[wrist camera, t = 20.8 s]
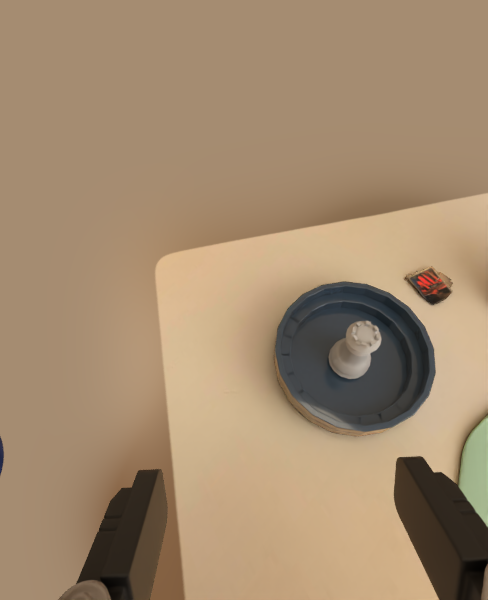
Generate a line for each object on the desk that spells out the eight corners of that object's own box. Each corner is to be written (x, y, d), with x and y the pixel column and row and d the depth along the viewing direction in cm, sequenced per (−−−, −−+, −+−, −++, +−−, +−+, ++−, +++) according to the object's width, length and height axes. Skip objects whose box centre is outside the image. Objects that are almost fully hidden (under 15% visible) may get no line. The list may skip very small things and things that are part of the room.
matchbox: (435, 308, 44) (437, 307, 44) (400, 281, 46) (402, 279, 46) (458, 286, 45) (460, 284, 45) (423, 260, 47) (425, 258, 47)
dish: (395, 466, 36) (409, 463, 33) (250, 392, 40) (249, 383, 37) (436, 331, 43) (452, 317, 39) (307, 279, 47) (311, 262, 43)
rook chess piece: (336, 385, 40) (353, 361, 33) (321, 347, 42) (334, 317, 35) (375, 374, 40) (399, 348, 33) (358, 337, 42) (378, 306, 35)
